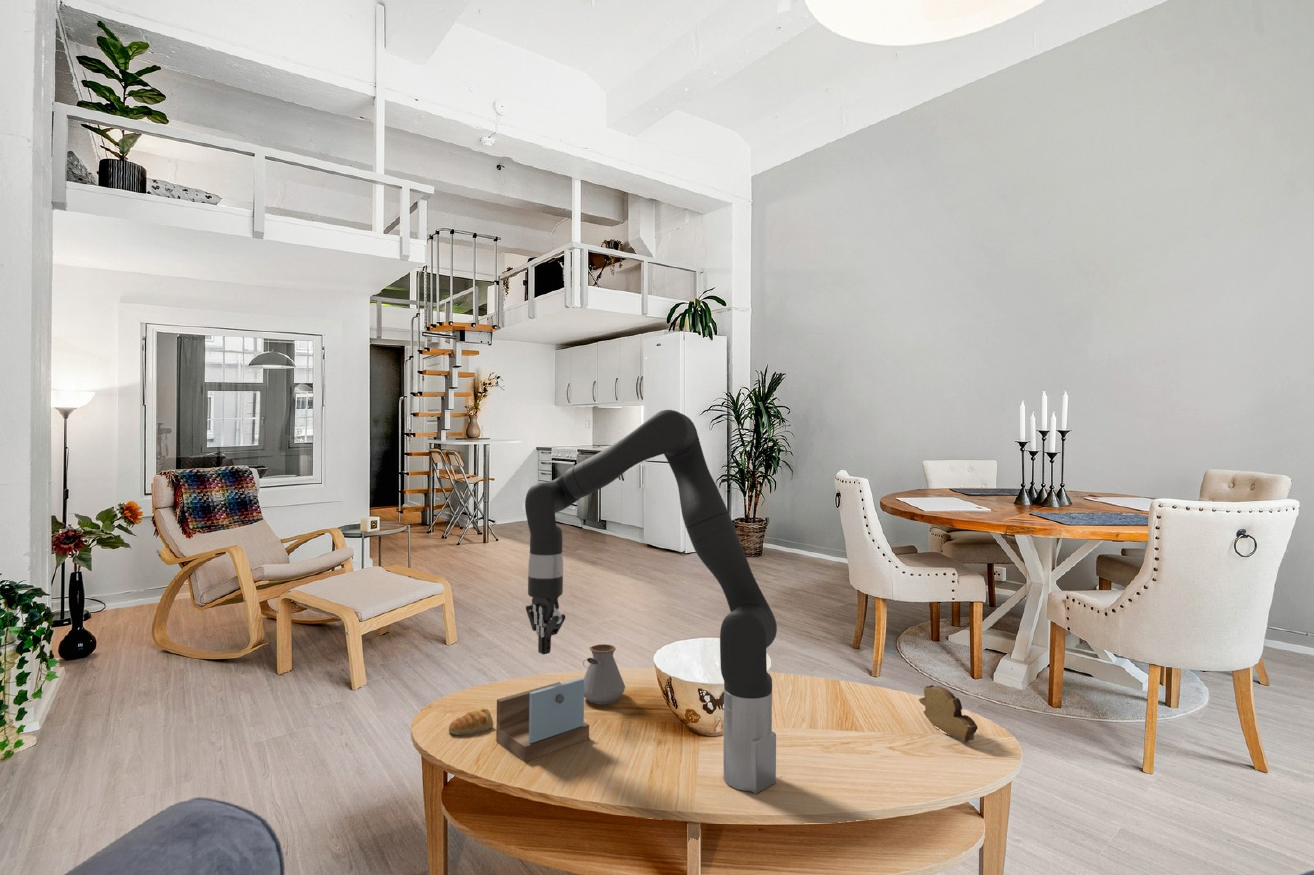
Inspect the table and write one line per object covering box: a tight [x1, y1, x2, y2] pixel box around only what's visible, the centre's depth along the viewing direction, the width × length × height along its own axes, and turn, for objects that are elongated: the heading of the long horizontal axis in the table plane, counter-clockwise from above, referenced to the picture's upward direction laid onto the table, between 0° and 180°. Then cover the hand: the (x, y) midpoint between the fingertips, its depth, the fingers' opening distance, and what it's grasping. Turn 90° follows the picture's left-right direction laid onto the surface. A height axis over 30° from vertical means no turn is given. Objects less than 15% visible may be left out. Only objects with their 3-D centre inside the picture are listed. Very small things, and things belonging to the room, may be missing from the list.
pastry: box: [448, 707, 494, 736], centre depth 145 cm, size 9×7×4 cm
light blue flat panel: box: [529, 677, 585, 743], centre depth 135 cm, size 2×13×10 cm, turn 132°
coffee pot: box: [582, 643, 626, 705], centre depth 158 cm, size 21×12×15 cm, turn 171°
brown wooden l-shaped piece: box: [495, 681, 590, 762], centre depth 140 cm, size 12×16×9 cm
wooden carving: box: [918, 684, 979, 743], centre depth 145 cm, size 16×5×10 cm, turn 20°
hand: (544, 652), depth 140 cm, fingers closed
